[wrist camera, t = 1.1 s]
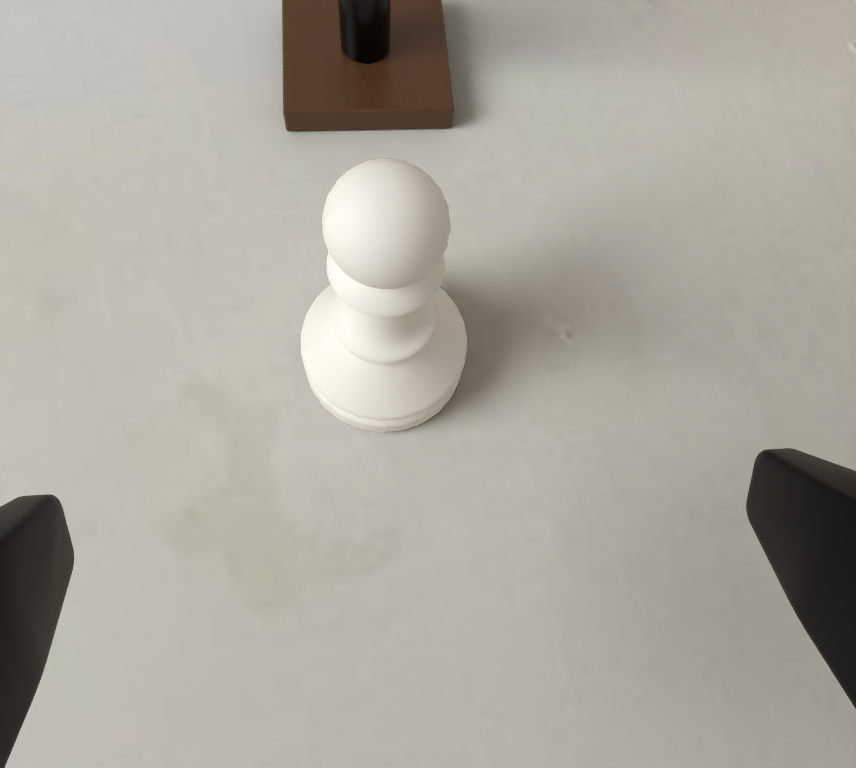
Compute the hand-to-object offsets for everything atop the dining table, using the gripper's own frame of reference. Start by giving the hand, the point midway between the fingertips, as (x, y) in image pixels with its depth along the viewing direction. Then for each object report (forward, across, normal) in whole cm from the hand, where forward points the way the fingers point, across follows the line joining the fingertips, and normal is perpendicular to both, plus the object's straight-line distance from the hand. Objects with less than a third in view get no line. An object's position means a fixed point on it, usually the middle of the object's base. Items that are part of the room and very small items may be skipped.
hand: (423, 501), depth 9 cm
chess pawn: (+14, 0, +4) cm, 14 cm away
